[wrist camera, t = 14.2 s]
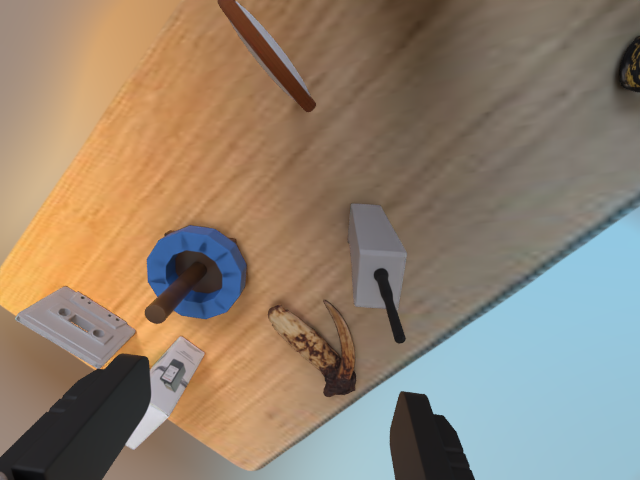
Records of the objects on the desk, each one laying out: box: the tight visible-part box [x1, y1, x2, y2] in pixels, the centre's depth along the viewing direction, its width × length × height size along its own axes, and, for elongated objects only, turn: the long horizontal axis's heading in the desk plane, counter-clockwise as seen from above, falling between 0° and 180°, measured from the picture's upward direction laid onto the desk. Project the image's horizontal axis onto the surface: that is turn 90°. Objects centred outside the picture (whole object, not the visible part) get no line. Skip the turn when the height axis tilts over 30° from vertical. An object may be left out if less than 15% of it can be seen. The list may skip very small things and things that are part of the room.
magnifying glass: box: [218, 0, 316, 112], centre depth 27 cm, size 9×2×20 cm, turn 40°
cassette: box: [15, 286, 135, 369], centre depth 44 cm, size 12×2×8 cm, turn 51°
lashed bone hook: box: [268, 300, 356, 397], centre depth 45 cm, size 9×5×18 cm
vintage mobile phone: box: [348, 203, 407, 343], centre depth 30 cm, size 4×5×25 cm
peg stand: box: [145, 230, 236, 324], centre depth 39 cm, size 9×9×12 cm
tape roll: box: [147, 225, 247, 319], centre depth 42 cm, size 12×12×3 cm
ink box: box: [125, 336, 205, 450], centre depth 45 cm, size 9×5×12 cm, turn 137°
